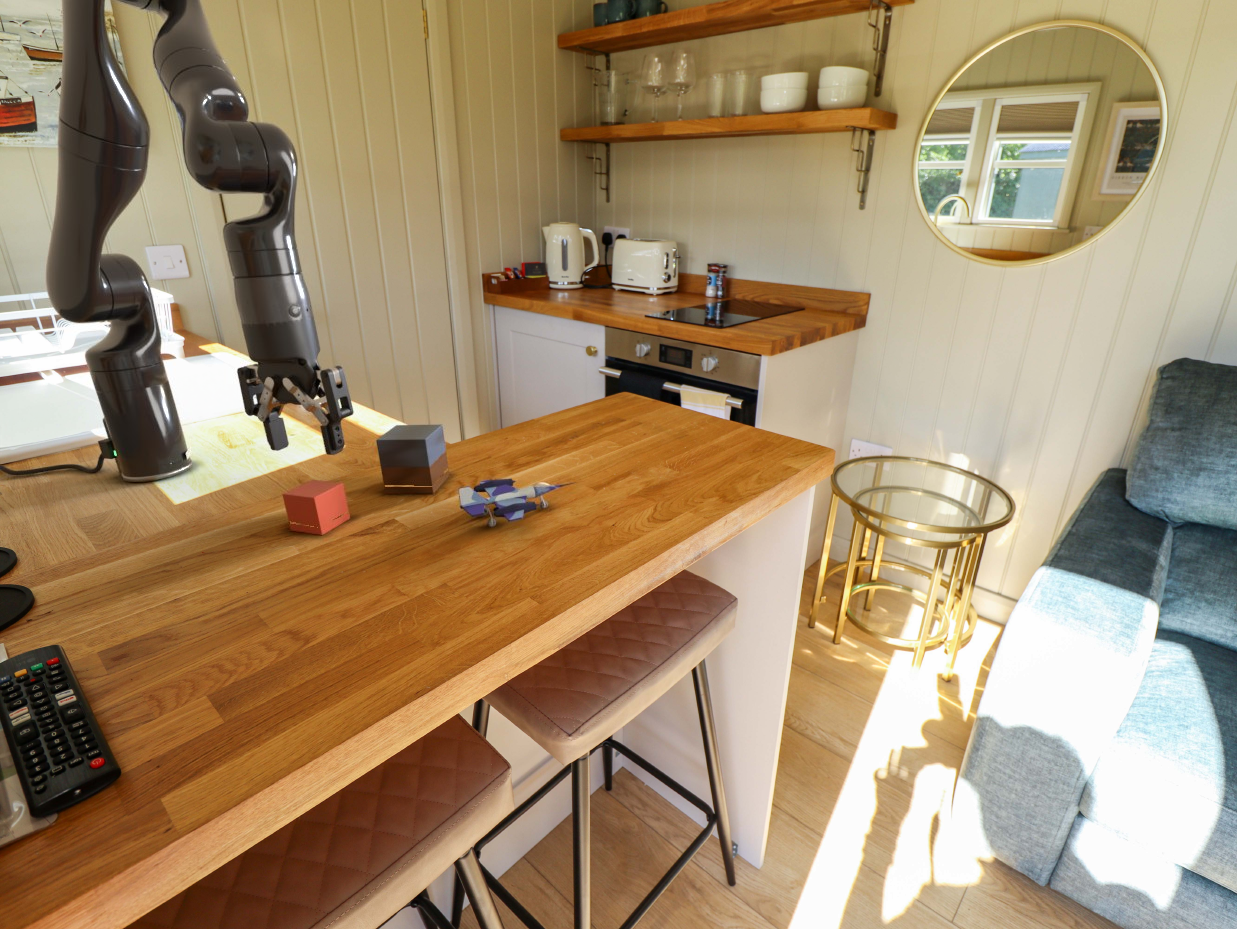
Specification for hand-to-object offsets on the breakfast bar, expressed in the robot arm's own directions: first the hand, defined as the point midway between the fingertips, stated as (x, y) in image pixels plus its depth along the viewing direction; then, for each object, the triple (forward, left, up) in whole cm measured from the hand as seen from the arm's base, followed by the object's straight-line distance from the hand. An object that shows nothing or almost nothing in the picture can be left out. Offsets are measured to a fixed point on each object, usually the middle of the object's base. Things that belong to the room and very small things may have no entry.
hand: (307, 450), depth 81 cm
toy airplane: (+23, +9, -10) cm, 26 cm away
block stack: (+4, +15, -10) cm, 18 cm away
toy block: (0, 0, -10) cm, 10 cm away
